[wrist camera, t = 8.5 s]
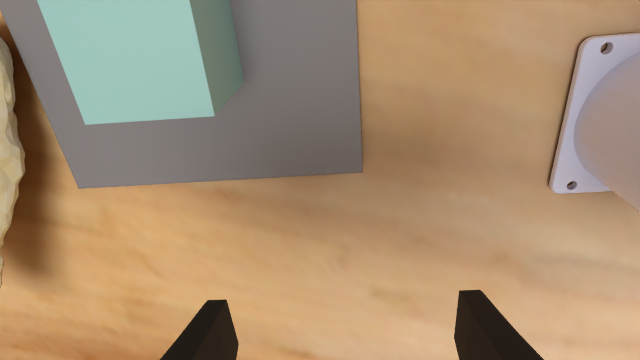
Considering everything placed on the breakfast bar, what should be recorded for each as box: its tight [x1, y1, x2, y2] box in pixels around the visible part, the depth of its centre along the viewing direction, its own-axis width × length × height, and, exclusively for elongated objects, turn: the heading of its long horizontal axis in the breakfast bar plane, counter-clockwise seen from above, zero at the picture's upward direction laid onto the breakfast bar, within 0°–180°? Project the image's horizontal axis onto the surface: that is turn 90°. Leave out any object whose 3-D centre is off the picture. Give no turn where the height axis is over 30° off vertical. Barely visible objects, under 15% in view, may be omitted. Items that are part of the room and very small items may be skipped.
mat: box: [0, 0, 363, 189], centre depth 18 cm, size 16×16×1 cm
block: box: [37, 0, 244, 125], centre depth 15 cm, size 5×5×5 cm
